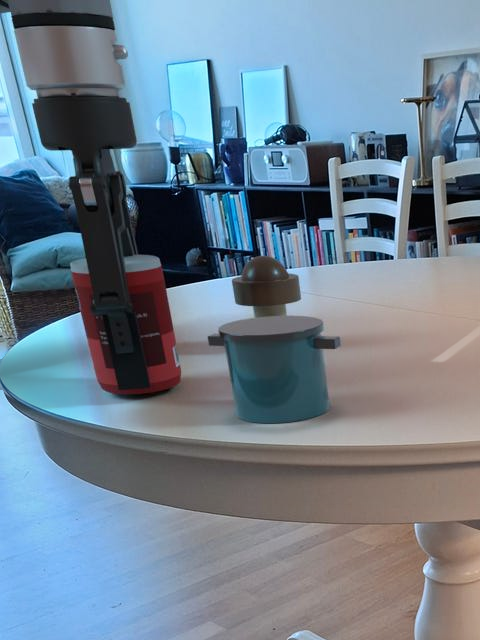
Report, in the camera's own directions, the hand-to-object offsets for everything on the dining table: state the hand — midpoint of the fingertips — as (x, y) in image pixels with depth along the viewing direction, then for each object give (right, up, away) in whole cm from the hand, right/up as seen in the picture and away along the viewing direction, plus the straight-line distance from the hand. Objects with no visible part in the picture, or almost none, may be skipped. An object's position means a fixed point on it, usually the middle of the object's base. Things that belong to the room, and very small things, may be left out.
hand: (139, 376), depth 83 cm
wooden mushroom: (+9, +8, +16) cm, 21 cm away
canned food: (0, -1, 0) cm, 1 cm away
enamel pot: (+15, -5, -7) cm, 18 cm away
